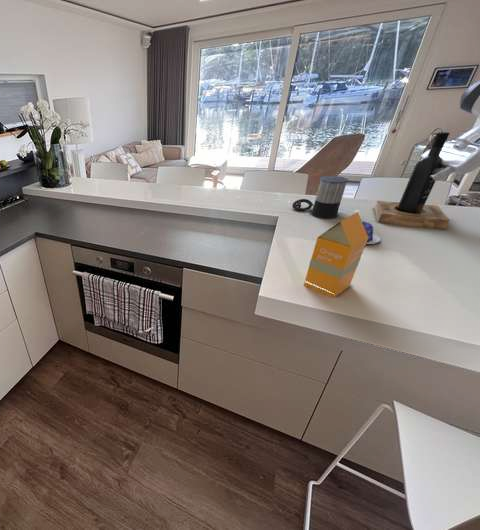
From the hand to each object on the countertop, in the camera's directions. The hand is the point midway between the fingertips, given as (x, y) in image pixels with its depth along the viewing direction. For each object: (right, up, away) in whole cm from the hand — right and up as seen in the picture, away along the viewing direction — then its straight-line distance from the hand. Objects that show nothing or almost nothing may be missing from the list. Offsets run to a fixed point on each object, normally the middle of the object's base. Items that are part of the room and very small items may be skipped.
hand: (423, 175), depth 101 cm
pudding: (-25, -23, -2) cm, 34 cm away
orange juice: (-52, -38, -23) cm, 68 cm away
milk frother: (-25, -10, +20) cm, 34 cm away
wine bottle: (+2, -14, +8) cm, 16 cm away
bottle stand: (+2, -14, +8) cm, 16 cm away
